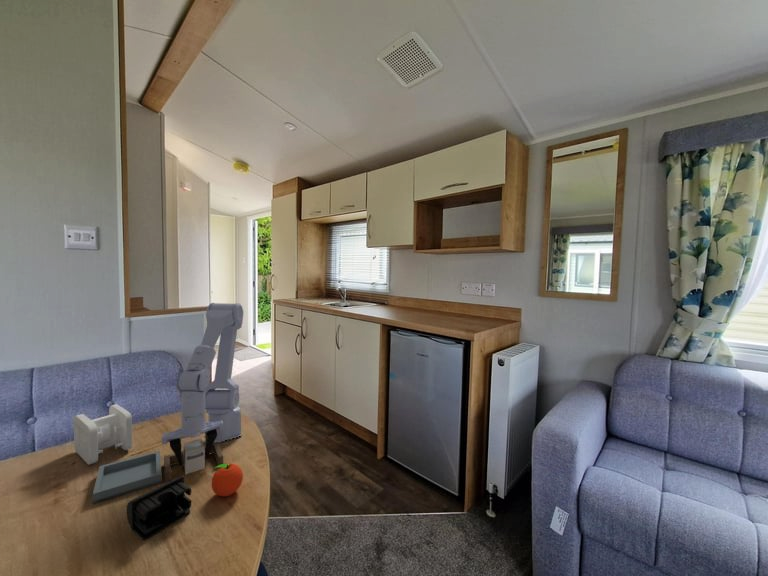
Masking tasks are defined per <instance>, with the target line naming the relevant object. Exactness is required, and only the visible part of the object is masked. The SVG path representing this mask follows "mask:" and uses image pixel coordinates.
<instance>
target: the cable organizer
mask: <svg viewBox="0 0 768 576" xmlns="http://www.w3.org/2000/svg"><path fill="white" fill-rule="evenodd" d="M108 409H109V410H108V411H109V414H108V415H105V416H102V417H98V418H94V419H93V418H92V419H90V418H89V417H88V416H86V415H85V414H84V413H81V414H77V415H74V416H73V419H72V421H73V422H72V424H73V447H74V450H75V453H77V454H78V455H79V457H80V458H81V459H82V460H83V461H84V462H85V463H86V464H87V465H93V464H96V463H97V462H98V461H99V454H101V455H104V449H106V448H109V447H112V446H114V449H115V450H117V448H118V447H119V448H121V449H123V451H128V450H129V449H132V447H133V417H132V414H131V412H130V411H128V410H126V409H125V408H124V407H122V406H120V405H119V404H117V403H115V404H113V405H110V406H109V408H108Z"/></svg>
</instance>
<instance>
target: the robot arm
mask: <svg viewBox="0 0 768 576" xmlns="http://www.w3.org/2000/svg"><path fill="white" fill-rule="evenodd" d="M243 308H244V307H243V306H242V305H241V303H239V302H236V303H229V302H228V303H219V302H218V303H217V302H210V303H209V304H208V306H207V308H206V311H205V316H206V321H207V324H206V328H205V332H204V333H203V337H202V341H201V344H199V345H198V346H196V347H195V348H194V350H193V353H192V354H191V357H190V359H189V362H188V363H187V366H186V368H185V370H183V371H182V372H180V373H179V374H178V377H177V379H176V383H175V388H176V390H177V392H178V397H179V399H181V404H180V405H181V411H180V412H181V413H180V415H181V428H178V429H175V430H173V431H170V432H167V433H162V434H161V445H166V444H168V443H169V447H170V449H171V451H172V453H173V454H174V453H175V455H176V457H177V460H178V463H177V464H178V468H180V467H182V466H183V462H182V459H181V451H182V440H183V439H185V438H195V437H199V436H200V435H201V434H205V445H206V447H205V458H206V459H205V460H208V459H210V455H211V454H210V451H211V448H212V445H213V443H215V442H219V443H223V442H226V441H225V440H227V441H229V440H228V439H230V440H232V439H231V438H234V439H236V438H235V437H238V438H240V437H239V436H241V435H242V414H241V409H240V406H238V405H239V401H240V393H239V391H240V386H239V384H238V383H236V382H235V381H234V380H232V374H233V366H234V357H235V348H236V340H237V334H238V330H240V329H241V328H242V326H243V319H244V309H243ZM218 340H219V343H218V344H219V345H218V351H216V349H215V346H216V345H217V342H218ZM216 354H217V357H216V365H215V366H216V367H215V373H214V380H213V381H211V371H212V370H211V368H212V364H213V361H214V359H215V356H216ZM206 414H208V421H207V422H206ZM241 437H242V436H241ZM222 441H223V442H222Z"/></svg>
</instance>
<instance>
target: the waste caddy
mask: <svg viewBox="0 0 768 576" xmlns="http://www.w3.org/2000/svg"><path fill="white" fill-rule="evenodd" d="M182 445H183V446H182V447H183V449H182V451H183V460H184V462H183V468H184V474H185V475H188V474H191V473H195V472H198V471H201V470H204V469H205V467H206V466H205V465H206V459H205V458H206V456H205V447H204V445H205V444H204V442H203V438H202V437H201V438H198V439H193V440H188V441H186V442H183V444H182Z"/></svg>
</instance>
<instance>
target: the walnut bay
mask: <svg viewBox="0 0 768 576" xmlns="http://www.w3.org/2000/svg"><path fill="white" fill-rule="evenodd" d="M204 447H206V444H204ZM213 452H214V453H213ZM210 453H211V454H213V455H214V454H215V455H214V458H215V460H216V463H217V466H218V465H221V464H224V454H223V452H222V450H221V447H220V444H219V443H218V442H215V443H213V445H212V448H211V451H210ZM181 459H182V463H184V460H183V450H181ZM176 464H178V460H177V457H176V455H175V453H174V452H173V453H170V454H167V455H163V468H164V481H165V483H164V484H166V483H168V482H170V481H172V469H171V468H172V467H171V466H172V465H176Z"/></svg>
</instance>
